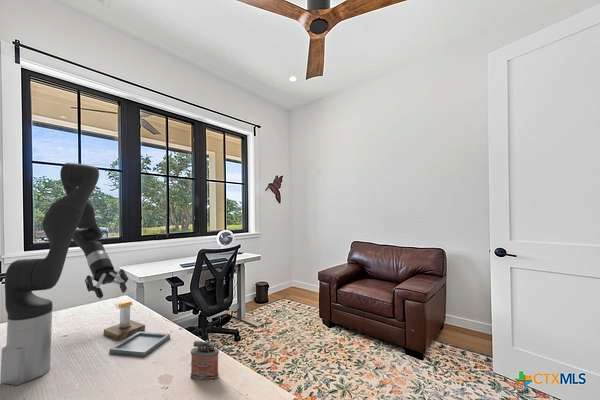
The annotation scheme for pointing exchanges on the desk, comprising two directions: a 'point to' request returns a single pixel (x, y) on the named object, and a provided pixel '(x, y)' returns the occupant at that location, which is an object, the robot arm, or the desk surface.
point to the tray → (140, 344)
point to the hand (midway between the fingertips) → (113, 294)
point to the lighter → (204, 361)
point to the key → (125, 314)
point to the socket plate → (120, 334)
